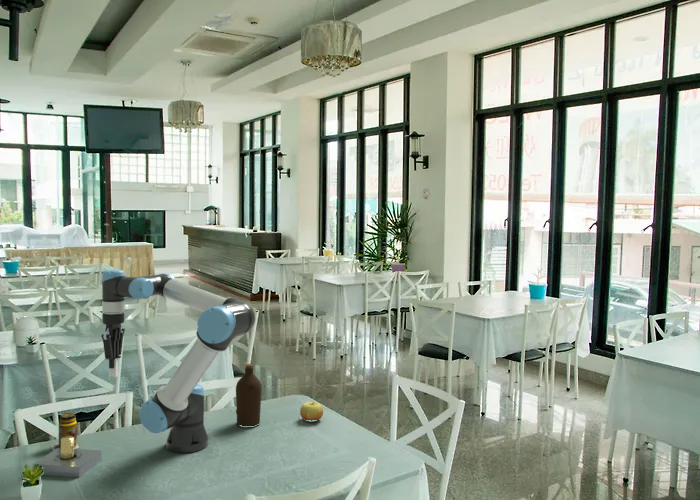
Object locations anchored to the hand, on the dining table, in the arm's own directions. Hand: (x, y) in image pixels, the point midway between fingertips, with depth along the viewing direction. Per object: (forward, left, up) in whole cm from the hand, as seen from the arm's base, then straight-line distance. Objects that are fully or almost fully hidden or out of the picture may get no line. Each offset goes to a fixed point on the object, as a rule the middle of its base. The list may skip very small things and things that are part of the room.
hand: (113, 376), depth 220 cm
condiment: (+17, +3, -27) cm, 32 cm away
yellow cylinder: (+6, +19, -26) cm, 33 cm away
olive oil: (-42, -32, -27) cm, 59 cm away
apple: (-67, -41, -27) cm, 83 cm away
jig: (+6, +19, -26) cm, 33 cm away
